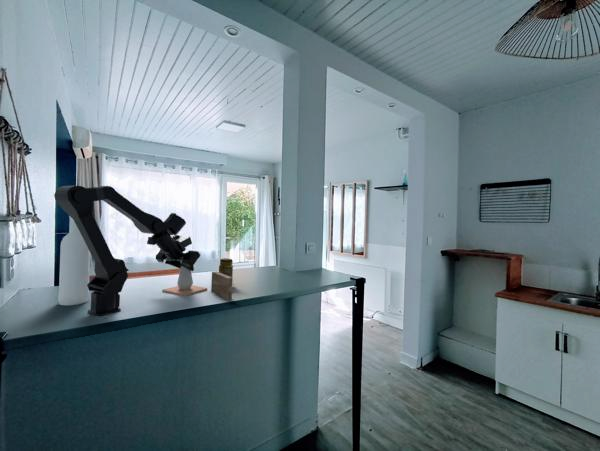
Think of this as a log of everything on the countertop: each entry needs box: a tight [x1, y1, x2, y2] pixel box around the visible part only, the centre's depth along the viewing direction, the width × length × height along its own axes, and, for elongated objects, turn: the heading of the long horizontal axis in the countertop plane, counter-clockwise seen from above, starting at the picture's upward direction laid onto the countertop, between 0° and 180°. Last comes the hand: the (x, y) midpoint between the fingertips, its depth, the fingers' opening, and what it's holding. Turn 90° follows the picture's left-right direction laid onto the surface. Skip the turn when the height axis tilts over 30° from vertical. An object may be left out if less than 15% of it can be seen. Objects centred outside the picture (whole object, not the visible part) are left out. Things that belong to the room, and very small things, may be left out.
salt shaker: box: [177, 259, 194, 290], centre depth 114 cm, size 6×6×13 cm
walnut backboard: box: [210, 271, 234, 300], centre depth 111 cm, size 2×14×8 cm, turn 41°
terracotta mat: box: [161, 284, 208, 297], centre depth 115 cm, size 12×12×1 cm
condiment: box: [218, 257, 234, 289], centre depth 126 cm, size 7×8×12 cm
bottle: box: [57, 215, 91, 307], centre depth 94 cm, size 8×8×30 cm
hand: (188, 269), depth 116 cm, fingers open, 5 cm apart
